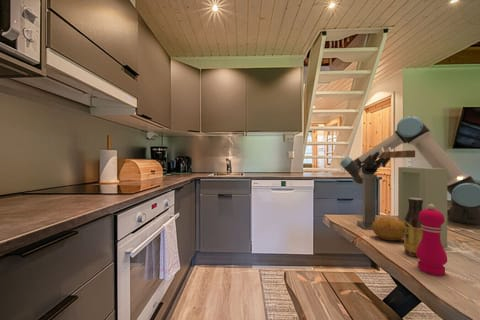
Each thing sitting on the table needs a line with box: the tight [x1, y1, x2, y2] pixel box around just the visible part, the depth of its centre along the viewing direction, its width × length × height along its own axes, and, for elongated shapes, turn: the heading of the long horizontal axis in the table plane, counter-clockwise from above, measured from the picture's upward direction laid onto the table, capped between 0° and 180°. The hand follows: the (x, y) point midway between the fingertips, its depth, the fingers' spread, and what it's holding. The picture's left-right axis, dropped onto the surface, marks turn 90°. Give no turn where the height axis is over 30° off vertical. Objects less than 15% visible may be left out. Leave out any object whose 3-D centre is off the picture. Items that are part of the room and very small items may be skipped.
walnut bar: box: [378, 149, 416, 159], centre depth 112 cm, size 28×3×3 cm, turn 175°
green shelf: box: [397, 166, 448, 247], centre depth 97 cm, size 17×8×30 cm, turn 176°
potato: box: [372, 217, 404, 241], centre depth 95 cm, size 10×13×9 cm
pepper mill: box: [416, 204, 448, 276], centre depth 68 cm, size 7×7×20 cm
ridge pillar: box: [356, 174, 378, 231], centre depth 113 cm, size 8×8×26 cm
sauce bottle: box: [403, 198, 423, 258], centre depth 80 cm, size 6×6×20 cm
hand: (386, 149), depth 118 cm, fingers closed on walnut bar, 3 cm apart
